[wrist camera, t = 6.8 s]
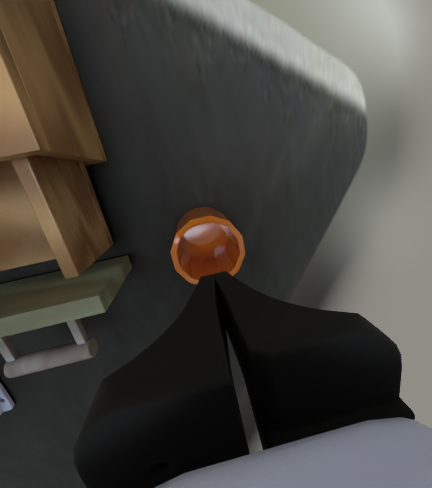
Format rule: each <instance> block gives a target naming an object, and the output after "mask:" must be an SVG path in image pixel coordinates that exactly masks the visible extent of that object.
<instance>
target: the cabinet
mask: <svg viewBox="0 0 432 488" xmlns="http://www.w3.org/2000/svg"><path fill="white" fill-rule="evenodd" d="M32 155H39V156H47V157H54V158H62V159H69V160H77V161H83V162H84V165H85V166H88V165H93V164H98V163H103V162H107V159H106V156H105V153H104V150H103V147H102V144H101V141H100V138H99V135H98V132H97V129H96V126H95V123H94V120H93V117H92V114H91V111H90V108H89V105H88V102H87V99H86V96H85V93H84V90H83V87H82V84H81V81H80V78H79V75H78V72H77V69H76V66H75V63H74V60H73V57H72V54H71V51H70V48H69V45H68V42H67V39H66V36H65V33H64V30H63V27H62V24H61V21H60V18H59V15H58V12H57V9H56V6H55V3H54V0H0V162H1V161H6V160H11V159H16V158H21V157H26V156H32Z"/></svg>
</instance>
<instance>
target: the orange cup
mask: <svg viewBox="0 0 432 488" xmlns="http://www.w3.org/2000/svg"><path fill="white" fill-rule="evenodd" d="M171 256H172V260H173V263H174V267H175V270H176V271H177V272H178V273H179V274H180V275H181V276H182V277H184V278H185V279H186V280H187V281H188V282H189V283H193V284H198V281H199V279H200V277H202V276H206V275H210V274H215V273H219V272H223V271H227V272H228V273H229V274H231V275H232V276H233V275H234V274H235V273H237V272H238V271H239V269H240V266H241V264H242V261H243V259H244V256H245V248H244V242H243V236H242V235H241V233H240V232H239V231H238V230H237V229H236V228H235V227H234V225H233V224H232V223H231V222H230V221H229V220H228V219H227V218H226V217H225V216H224V215H223V213H222V212H220V211H218V210H216V209H213V208H209V207H198V208H195V209H192V210H189V211H188V212H187V213H186V214H184V215H183V216H182V217H181V219H180V220H179V221H178V223H177V227H176V230H175V234H174V238H173V243H172V247H171Z"/></svg>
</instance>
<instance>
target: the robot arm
mask: <svg viewBox="0 0 432 488" xmlns="http://www.w3.org/2000/svg"><path fill="white" fill-rule="evenodd" d="M226 330H227V333H228V335H229V338H230V341H231V344H232V346H233V349H234V352H235V354H236V357H237V360H238V362H239V365H240V368H241V371H242V374H243V377H244V380H245V384H246V388H247V391H248V395H249V399H250V402H251V406H252V410H253V413H254V417H255V421H256V425H257V429H258V432H259V436H260V440H261V444H262V447H263V451H259V452H256V453H252V454H249V449H248V445H247V440H246V436H245V432H244V427H243V423H242V418H241V414H240V410H239V405H238V401H237V396H236V392H235V387H234V383H233V377H232V371H231V364H230V356H229V349H228V341H227V334H226ZM401 371H402V364H401V354H400V352H399V349H398V347H397V345H396V344H395V343H394V342H393V341H392V340H391V339H390V338H389V337H387V336H386V335H385V334H384V333H383V332H381V331H380V330H379V329H378V328H377V327H375V326H374V325H372V323H370V322H369V321H368V320H366V319H365V318H364V317H362V316H361V315H359V314H357V313H348V312H337V311H326V310H320V309H314V308H308V307H303V306H299V305H294V304H291V303H287V302H284V301H280V300H277V299H274V298H272V297H269V296H267V295H264V294H262V293H260V292H258V291H256V290H254V289H252V288H250V287H248V286H247V285H245V284H243V283H242V282H240V281H239V280H237V279H236V278H235V277H233V276H232V275H231V274H229V273H228V272H227V271H223V272H219V273H215V274H210V275H206V276H202V277H200V279H199V281H198V284H197V286H196V288H195V290H194V292H193V294H192V296H191V298H190V300H189V302H188V303H187V305H186V306H185V308H184V310H183V311H182V313H181V314H180V315H179V317H178V318H177V319H176V320H175V322H174V323H173V324H172V325H171V326H170V327H169V328H168V329H167V330H166V331H165V332H164V333H163V334H162V335H161V336H160V337H159V338H158V339H157V340H156V341H155V342H154V343H153V344H151V345H150V346H149V347H148V348H147V349H145V350H144V351H143V352H142V353H141V354H139V355H138V356H137V357H135V358H134V359H133V360H131V361H130V362H128V363H127V364H126V365H124V366H123V367H121V368H120V369H118V370H117V371H115V372H114V373H113V374H111V375H110V376H108V377H106V378H105V379H104V380H103V382H102V384H101V386H100V388H99V390H98V392H97V394H96V396H95V398H94V401H93V403H92V406H91V408H90V411H89V413H88V415H87V418H86V420H85V423H84V425H83V428H82V430H81V433H80V435H79V438H78V440H77V443H76V445H75V447H74V464H75V467H76V469H77V472H78V474H79V476H80V477H81V479H82V481H83V482H84V484H85V485H86V487H87V488H432V429H431V428H429V427H427V426H425V425H423V424H421V423H419V422H417V421H415V420H414V419H415V415H414V413H413V411H412V410H411V409H410V408H409V407H408V406H407V405H406V404H405V403H404V402H403V401H402V400H401V398H400V397H399V393H400V381H401ZM14 405H15V404H14V402H13V400H12V399H11V397H10V396H9V394H8V393H7V391H6V390H5V389H4V387H3V386H2V384H1V383H0V415H1V414H2V413H3V412H5V411H8V410H11V409H12V408H13V407H14Z"/></svg>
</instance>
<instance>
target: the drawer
mask: <svg viewBox="0 0 432 488" xmlns="http://www.w3.org/2000/svg"><path fill="white" fill-rule="evenodd" d="M112 245H113V241H112V238H111V236H110V233H109V230H108V227H107V225H106V222H105V219H104V217H103V214H102V211H101V208H100V206H99V203H98V200H97V197H96V195H95V192H94V189H93V186H92V184H91V181H90V178H89V176H88V173H87V170H86V167H85V165H84V162H83V161H77V160H69V159H62V158H54V157H47V156H39V155H32V156H26V157H21V158H16V159H11V160H6V161H1V162H0V271H5V270H9V269H13V268H18V267H22V266H27V265H31V264H36V263H40V262H45V261H49V260H54V259H56V260H57V262H58V264H59V266H60V269H61V271H56V272H52V273H48V274H43V275H39V276H34V277H30V278H26V279H21V280H17V281H13V282H8V283H4V284H0V352H1V354H2V356H3V357H4V359H5V360H6V363H5V365H4V375H5V376H6V377H7V378H14V377H18V376H22V375H26V374H30V373H34V372H38V371H42V370H46V369H50V368H54V367H58V366H62V365H66V364H70V363H73V362H77V361H81V360H85V359H89V358H93V357H95V356H96V354H97V351H98V344H97V341H96V339H95V338H89V339H88V336H87V333H86V331H85V329H84V327H83V325H82V323H81V321H80V318H84V317H88V316H92V315H96V314H100V313H105V312H106V311H107V309H108V307H109V306H110V304H111V302H112V301H113V299H114V297H115V296H116V294H117V292H118V291H119V289H120V287H121V285H122V284H123V282H124V280H125V279H126V277H127V275H128V274H129V272H130V270H131V268H132V265H131V263H130V260H129V257H128V255H127V256H122V257H118V258H114V259H109V260H105V261H100V262H96V263H94V262H95V261H96V260H97V259H98V258H99V257H100V256H101V255H102V254H103V253H104V252H105V251H106V250H107V249H108V248H109V247H111V246H112ZM63 322H66V323H67V325H68V327H69V329H70V331H71V333H72V335H73V337H74V339H75V341H76V342H73V343H68V344H64V345H60V346H56V347H52V348H48V349H44V350H40V351H36V352H32V353H28V354H24V355H20V353H19V351H18V350H17V348H16V346H15V345H14V343H13V342H12V340H11V338H10V337H9V335H13V334H17V333H22V332H26V331H30V330H34V329H38V328H42V327H46V326H51V325H55V324H59V323H63Z"/></svg>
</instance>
